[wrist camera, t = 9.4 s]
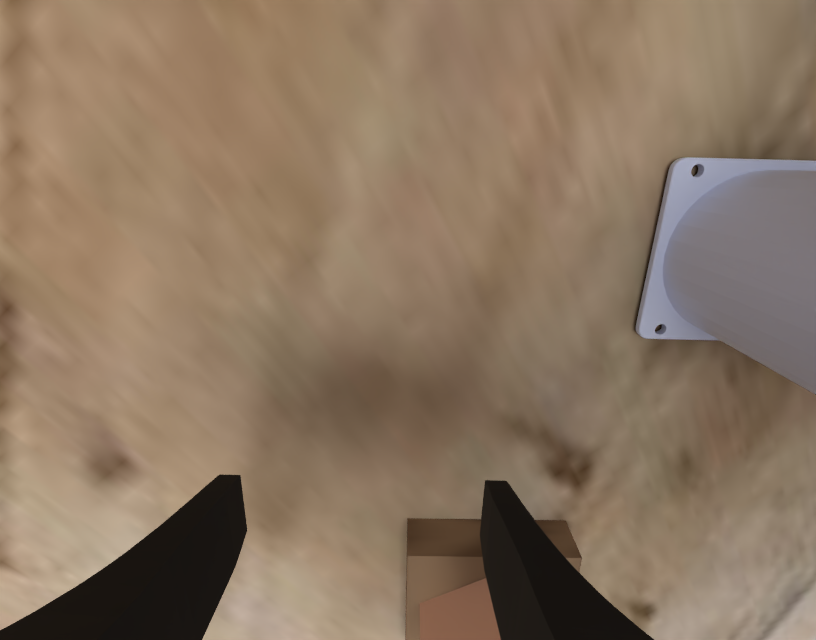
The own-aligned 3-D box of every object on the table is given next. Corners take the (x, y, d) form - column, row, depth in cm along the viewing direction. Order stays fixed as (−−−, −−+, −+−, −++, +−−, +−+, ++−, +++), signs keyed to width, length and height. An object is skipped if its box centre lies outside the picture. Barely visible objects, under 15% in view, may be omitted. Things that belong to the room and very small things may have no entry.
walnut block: (562, 514, 26) (581, 558, 23) (544, 624, 29) (559, 675, 26) (407, 512, 25) (407, 556, 23) (405, 622, 28) (405, 673, 26)
